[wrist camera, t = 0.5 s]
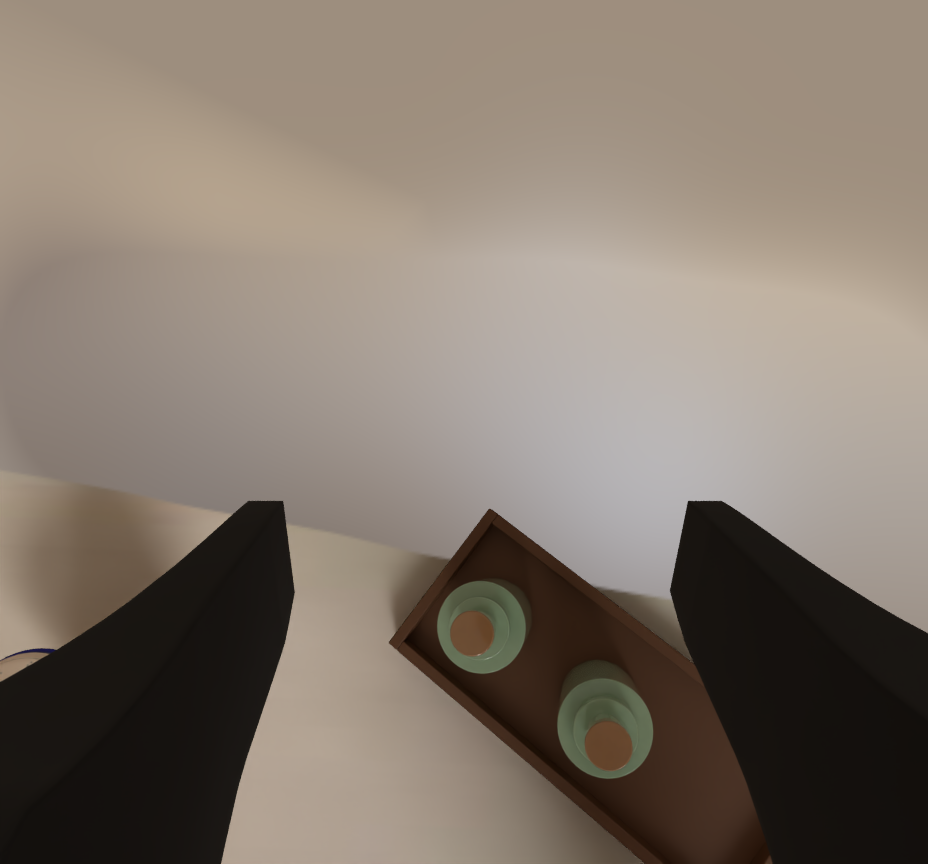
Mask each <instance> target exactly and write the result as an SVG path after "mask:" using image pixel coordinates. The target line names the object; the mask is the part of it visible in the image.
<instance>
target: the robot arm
mask: <svg viewBox="0 0 928 864" xmlns="http://www.w3.org/2000/svg"><path fill="white" fill-rule="evenodd" d="M670 592H671V596H672V600H673V603H674V607H675V611H676V614H677V618H678V621H679V625H680V628H681V631H682V634H683V638H684V641H685V643H686V645H687V648H688V650H689V652H690V655H691V657H692V659H693V662H694V664H695V666H696V668H697V671H698V673H699V675H700V677H701V680H702V682H703V684H704V686H705V689H706V691H707V693H708V695H709V697H710V700H711V702H712V704H713V706H714V709H715V711H716V713H717V715H718V717H719V720H720V722H721V724H722V726H723V728H724V731H725V733H726V735H727V737H728V740H729V742H730V744H731V746H732V748H733V751H734V753H735V755H736V758H737V760H738V763H739V765H740V768H741V770H742V773H743V775H744V778H745V780H746V783H747V786H748V789H749V792H750V795H751V798H752V801H753V804H754V807H755V810H756V813H757V816H758V819H759V822H760V825H761V828H762V831H763V834H764V837H765V840H766V843H767V847H768V850H769V853H770V856H771V860H772V863H773V864H928V633H926V632H924V631H923V630H921V629H919V628H917V627H915V626H913V625H911V624H910V623H908V622H906V621H904V620H902V619H900V618H899V617H897V616H895V615H893V614H892V613H890V612H888V611H886V610H885V609H883V608H881V607H879V606H877V605H876V604H874V603H872V602H871V601H869V600H868V599H866V598H865V597H863V596H862V595H860V594H858V593H857V592H855V591H854V590H852V589H850V588H849V587H847V586H845V585H844V584H842V583H841V582H839V581H838V580H836V579H835V578H833V577H831V576H830V575H829V574H827V573H826V572H824V571H823V570H821V569H820V568H818V567H817V566H815V565H814V564H812V563H811V562H809V561H808V560H807V559H805V558H803V557H802V556H801V555H799V554H798V553H796V552H795V551H794V550H792V549H791V548H789V547H788V546H786V545H785V544H784V543H782V542H781V541H779V540H778V539H777V538H775V537H774V536H772V535H771V534H770V533H768V532H767V531H765V530H764V529H763V528H761V527H760V526H758V525H757V524H756V523H754V522H753V521H751V520H750V519H748V518H747V517H746V516H744V515H743V514H741V513H740V512H738V511H737V510H735V509H734V508H732V507H731V506H729V505H727V504H726V503H724V502H722V501H688V504H687V509H686V514H685V519H684V524H683V529H682V534H681V539H680V544H679V549H678V554H677V558H676V563H675V568H674V573H673V578H672V583H671V588H670ZM294 593H295V591H294V583H293V575H292V567H291V559H290V552H289V544H288V536H287V528H286V520H285V512H284V504H283V501H248V502H247V503H246V504H244V505H243V506H242V507H241V508H240V509H238V510H237V511H236V512H235V513H234V514H233V515H232V516H231V517H229V518H228V519H227V520H226V521H225V522H224V523H223V524H222V525H221V526H219V527H218V528H217V529H216V530H215V531H214V532H213V533H212V534H211V535H209V536H208V537H207V538H206V539H205V540H204V541H203V542H202V543H200V544H199V545H198V546H197V547H196V548H195V549H193V550H192V551H191V552H190V553H189V554H188V555H187V556H185V557H184V558H183V559H182V560H181V561H180V562H178V563H177V564H176V565H175V566H174V567H173V568H171V569H170V570H169V571H167V572H166V573H165V574H164V575H162V576H161V577H160V578H158V579H157V580H156V581H155V582H153V583H152V584H151V585H150V586H148V587H147V588H146V589H144V590H143V591H142V592H141V593H139V594H138V595H137V596H136V597H134V598H133V599H132V600H130V601H129V602H128V603H126V604H125V605H124V606H122V607H121V608H120V609H118V610H117V611H115V612H114V613H112V614H111V615H110V616H108V617H107V618H105V619H104V620H102V621H101V622H99V623H98V624H96V625H95V626H93V627H92V628H90V629H89V630H87V631H86V632H84V633H83V634H81V635H80V636H78V637H76V638H75V639H73V640H72V641H70V642H69V643H67V644H65V645H64V646H62V647H61V648H59V649H57V650H55V651H54V652H52V653H50V654H48V655H47V656H45V657H43V658H41V659H40V660H38V661H36V662H34V663H32V664H31V665H29V666H27V667H25V668H24V669H22V670H20V671H18V672H17V673H15V674H13V675H11V676H10V677H8V678H6V679H4V680H3V681H1V682H0V864H221V861H222V857H223V852H224V847H225V843H226V838H227V834H228V829H229V825H230V821H231V816H232V812H233V807H234V803H235V799H236V794H237V790H238V786H239V782H240V779H241V775H242V772H243V769H244V765H245V762H246V758H247V755H248V752H249V749H250V746H251V743H252V740H253V738H254V735H255V732H256V729H257V726H258V723H259V720H260V717H261V714H262V711H263V708H264V705H265V702H266V699H267V696H268V693H269V690H270V687H271V684H272V681H273V678H274V675H275V672H276V669H277V666H278V663H279V660H280V657H281V653H282V650H283V647H284V644H285V640H286V635H287V630H288V625H289V620H290V615H291V609H292V604H293V598H294Z"/></svg>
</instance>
